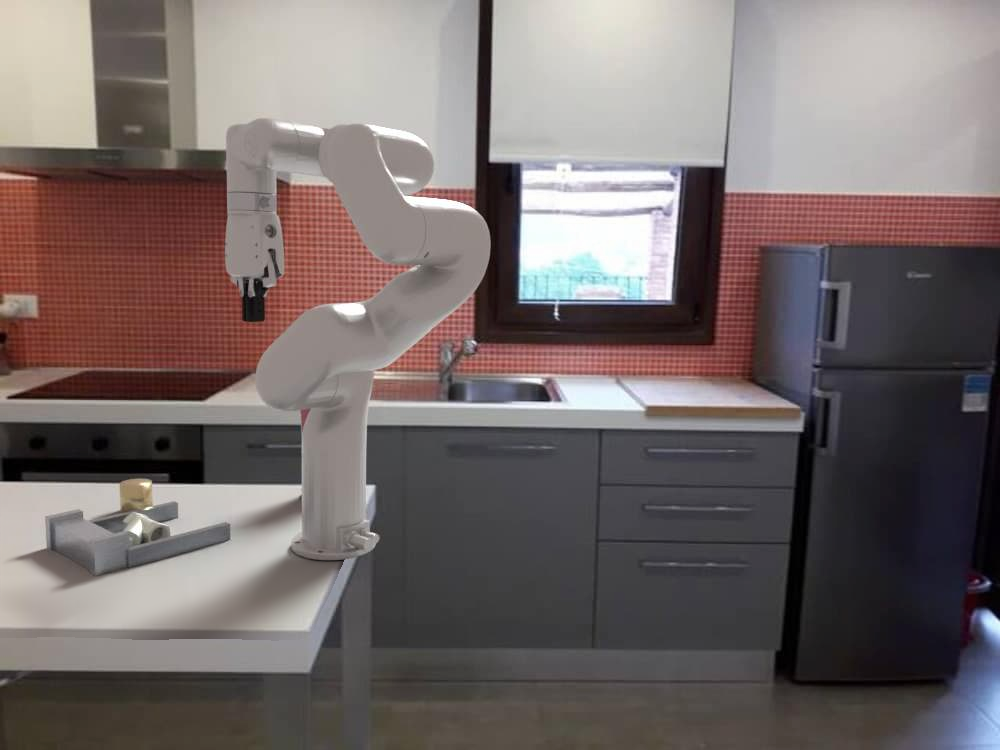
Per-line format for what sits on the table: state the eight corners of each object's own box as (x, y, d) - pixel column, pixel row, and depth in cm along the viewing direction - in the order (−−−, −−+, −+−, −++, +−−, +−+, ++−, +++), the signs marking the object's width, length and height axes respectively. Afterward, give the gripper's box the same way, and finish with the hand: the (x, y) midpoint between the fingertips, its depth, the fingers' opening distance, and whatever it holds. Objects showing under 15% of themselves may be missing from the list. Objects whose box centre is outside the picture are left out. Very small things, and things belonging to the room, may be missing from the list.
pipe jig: (230, 539, 126) (229, 509, 125) (97, 576, 110) (95, 542, 110) (174, 515, 136) (173, 488, 136) (45, 546, 121) (43, 515, 120)
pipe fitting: (127, 559, 119) (171, 544, 124) (124, 534, 118) (168, 520, 123) (102, 545, 124) (145, 531, 129) (99, 521, 123) (142, 508, 128)
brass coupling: (158, 511, 139) (157, 482, 138) (129, 517, 135) (128, 488, 134) (143, 504, 142) (142, 477, 141) (115, 511, 138) (113, 482, 137)
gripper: (301, 207, 128) (301, 323, 130) (244, 208, 137) (246, 317, 140) (260, 203, 122) (261, 326, 125) (204, 205, 131) (206, 319, 134)
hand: (253, 321), depth 132 cm, fingers closed
